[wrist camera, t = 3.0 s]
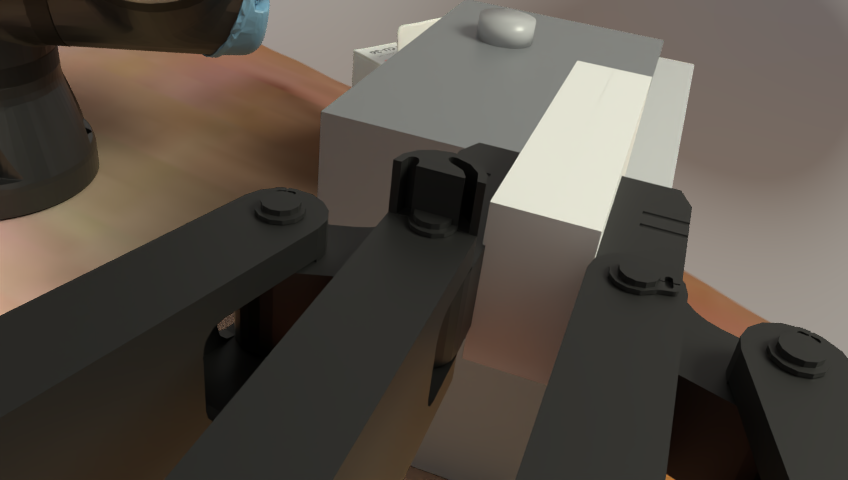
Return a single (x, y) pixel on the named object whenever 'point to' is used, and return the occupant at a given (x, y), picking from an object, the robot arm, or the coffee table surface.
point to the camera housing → (494, 125)
